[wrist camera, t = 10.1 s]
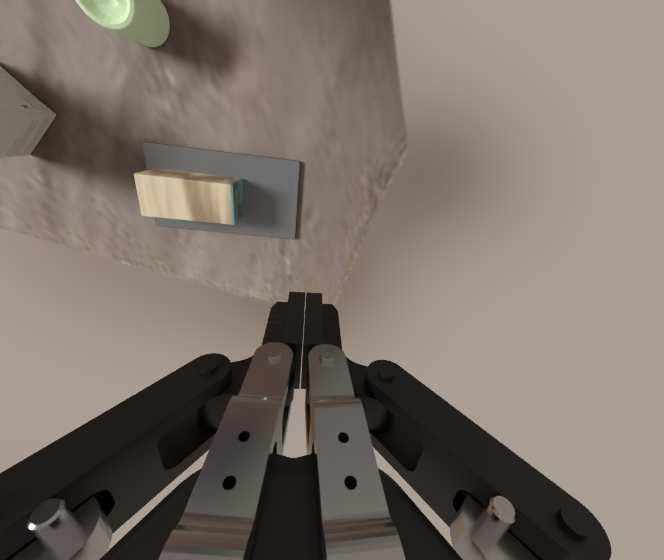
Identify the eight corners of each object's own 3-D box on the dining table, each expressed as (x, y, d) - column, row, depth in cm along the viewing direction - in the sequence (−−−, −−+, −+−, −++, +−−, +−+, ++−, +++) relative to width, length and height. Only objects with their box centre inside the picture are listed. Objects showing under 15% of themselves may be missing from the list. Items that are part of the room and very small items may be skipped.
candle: (179, 35, 32) (139, 9, 25) (142, 55, 33) (93, 35, 26) (150, -22, 30) (97, -70, 23) (111, 1, 31) (47, -38, 23)
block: (232, 184, 35) (133, 173, 33) (234, 224, 37) (141, 215, 36) (242, 178, 39) (155, 168, 38) (243, 214, 41) (161, 205, 40)
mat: (299, 161, 39) (299, 161, 38) (295, 237, 44) (294, 239, 43) (144, 141, 37) (141, 142, 36) (158, 224, 42) (156, 225, 41)
